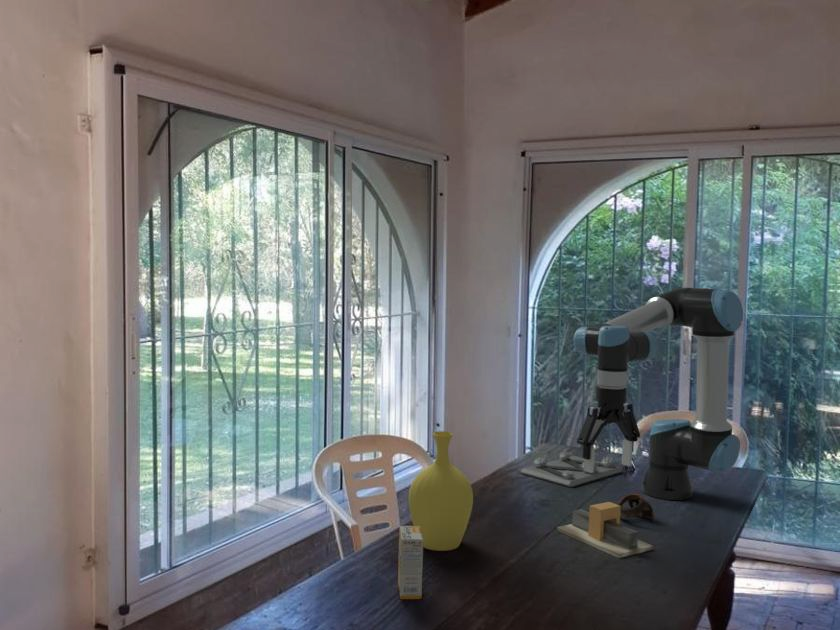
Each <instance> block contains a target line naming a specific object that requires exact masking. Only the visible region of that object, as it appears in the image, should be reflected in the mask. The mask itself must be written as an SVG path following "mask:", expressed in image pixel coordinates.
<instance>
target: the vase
mask: <svg viewBox="0 0 840 630" xmlns="http://www.w3.org/2000/svg"><path fill="white" fill-rule="evenodd" d="M432 435H433V438H434V442H435V445H436V454H435V459H434V461H433V462H432V464H430V465H429V466H427V467H426V468H424V469H422V470H421V471H420V472H419V473H418V474H417V475H416V476H415V478H414V479H413V481H412V482H411V484H410V487H409V491H408V507H409V513H410V518H411V521H412V524H413V525H412V526H420V528H421V532H422V537H423V549H427V550H430V551H439V552H441V551H443V552H444V551H452V550H456V549H457V548H458V547H459V548H460V545H461V543H462V540H463V538H464V535H465V534H466V533H465V532H466V531H467V527H468V524H469V521H470V518H471V514H472V511H473V504H474V492H473V491H474V490H473V488H472V485H471V483H470V481H469V479H468V478H467V477H466V476H465V474H464V473H463V472H462V471H460V470H459V469H458V468H457V467H455V466H453V464H451V461H450V457H449V447H450V443H451V440H452V438H453V436H454V434H453V432H450V431H443V430H442V431H441V430H440V431H434V432H433V433H432Z"/></svg>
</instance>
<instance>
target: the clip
mask: <svg viewBox="0 0 840 630" xmlns="http://www.w3.org/2000/svg"><path fill="white" fill-rule="evenodd" d="M620 509H621V506H619V504H616V503H614V502H611V501H605V502H602V503H601V502H600V503H595V504H591V505H589V511H588V512H589V532H588V536H590V537H592V538H594V539H597V540H599V541H601V540H603V529H604V521H605V520H610V521H612V522H615V523H617V524H620V525H621V519H620Z"/></svg>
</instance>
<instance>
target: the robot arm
mask: <svg viewBox="0 0 840 630" xmlns="http://www.w3.org/2000/svg"><path fill="white" fill-rule="evenodd" d="M743 310H744V308H743V304H742V301H741V299H740V297H739V296H738V294H736V292H734V291H732V290H727V289H722V288H703V287H702V288H701V287H699V288H698V287H697V288H695V287H694V288H693V287H681V288H677V289H676V288H675V289H672V290H669V291H667V292H666V291H665V292H663V293H660V294H658V295H655V296H654V297H651V298H650V299H648V301H646V303H645V305H642V306H640V307H637V308H635V309H633V310H631V311H628V312H626V313H624V314H621V315H619V316H617V317H614V318H613V319H610V320H608V321H606V322H604V323H602V324H599V325H597V326H594V327H591V326H581V327H578V329H577V330H575V332H574V334H573V346H574V348H575V350H576V352H578V353H580V354H583V355H587V356H594V357H595V356H596V357H597V370H596V373H597V374H596V384H597V386H596V390H595V391H596V392H595V400H596V401H597V406H596V407H595V406H588V408H587V412H586V414H587V415H586V417H585V419H584V422H583V424H582V427H581V429H580V432H579V435H578V438H577V439H576V443H577V444H578V445H581V446H582V447H583V448H582V449H583V450H582V458H584V471H587V472H590V473H594V461H595V448H596V447H595V446H593V445H594V443H595V442H596V441H597V439H598V437H599V435H600V434H601V432H602V430H603V429H604V428H605V427H606V426H607V425H609V424H612V423H614V424H616V425H617V426H618V429H619V431H620V432H621V433H622V436H623V437H624V439H622V449H621V450H622V451H621V465H624V466H626V467H632V464H633V463H632V462H633V459H632V457H633V452H634V446H635V445H634V443H635V442H637V441H638V438H640V437H641V432H640V429H639V427H638V424H637V419H636V417H635V414H634V405H633V404H632V403H629V402H627V388H626V387H627V386H628V365H629V364H628V363H629V362H638V361H641V362H644V361H646V360H650V359H652V358H653V357H654V356H655V355H656V353H657V351H658V341H657V338H656V337H655V336H654V335H653V333H650V332H651V331H653V330H655V329H664V328H668V327H670V326H679V327H689V328H691V329H692V330H691V335H692V336H693V337H694V338H695V339H696V341H697V344H696V346H697V349H696V350H697V351H696V398H695V399H696V403H695V404H696V407H695V410H696V411H695V413H696V415H695V419H694V420H693V421H692V422H691V421H690V420H688V419H683V418H681V419H679V418H678V419H677V418H673V419H671V418H670V419H659V420H655V421H654V422H652V424H651V426H650V434H649V436H650V437H649V459H648V461H649V464H648V468H647V471H646V474H645V476H644V480H643V481H642V484H641V492H642V493H644V494H645V495H647V496H649V497H653V498H657V499H661V500H662V499H663V500H673V501H681V500H689V499H691V498H692V497H693V491H694V489H693V486H692V482H691V478H690V475H689V466H691V467H694V468H700V469H703V470H707V471H710V472H718V473H726V472H728V471H730V470H731V469H732V468H733V467H734V465H735V464H736V462H737V460H738V458H739V455H740V451H741V441H740V439H739V436H738V435H736V434H733V426H732V424H731V423H730V422H729V421H728V377H729V375H728V374H729V372H728V371H729V369H728V368H729V341H730V340H731V339H732V338H733V337H734V336H735V331H738V330H739V329H740V328H741V326H742V322H743V321H744V320H743V319H744V311H743Z"/></svg>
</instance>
